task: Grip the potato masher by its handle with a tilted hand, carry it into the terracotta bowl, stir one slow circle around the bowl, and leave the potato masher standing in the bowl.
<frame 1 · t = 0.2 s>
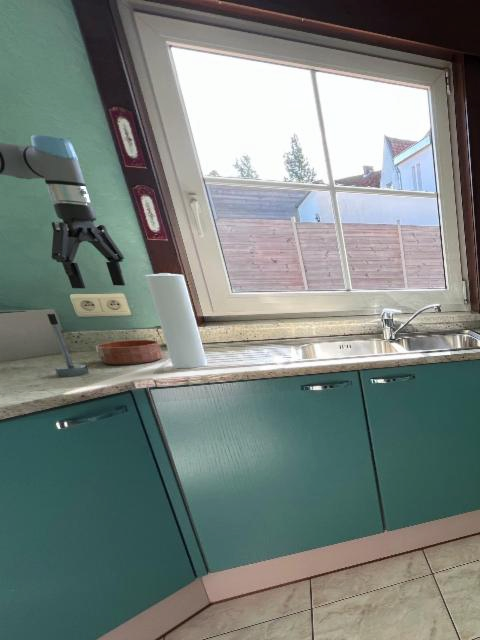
hand: (100, 286, 139), 27 cm above the worktop, tool pointing down, fingers open, 13 cm apart
potato masher: (73, 374, 154), on the worktop
cylinder container: (190, 365, 169), on the worktop
bowl: (133, 360, 173), on the worktop
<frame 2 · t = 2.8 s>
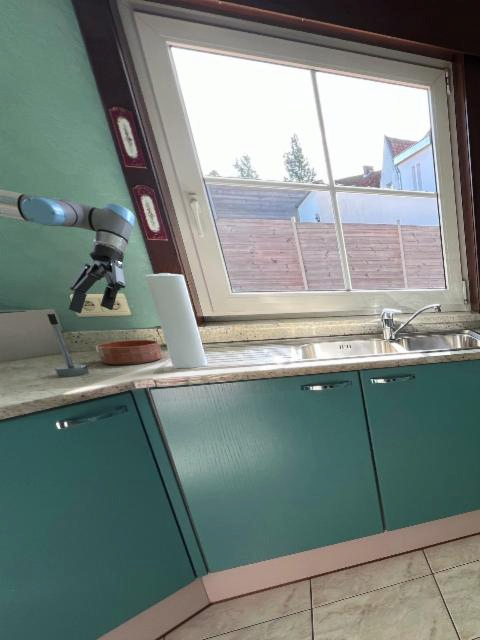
hand: (90, 309, 154), 19 cm above the worktop, tool tilted 35°, fingers open, 13 cm apart
nothing on the worktop moved.
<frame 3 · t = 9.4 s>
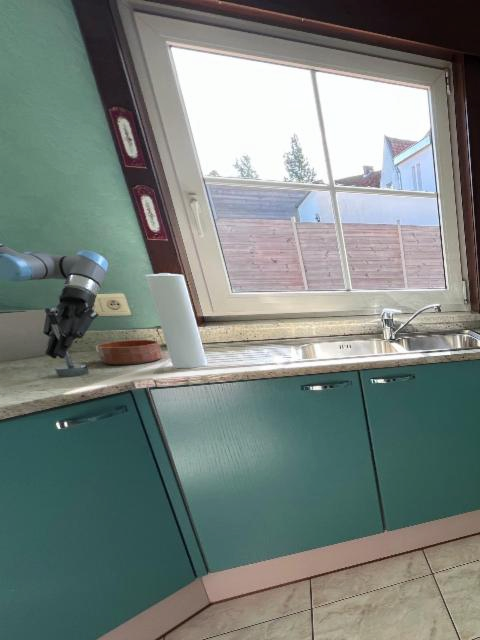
hand: (54, 355, 148), 7 cm above the worktop, tool tilted 45°, fingers closed on potato masher
potato masher: (73, 374, 154), on the worktop, touching gripper
everything else where it was.
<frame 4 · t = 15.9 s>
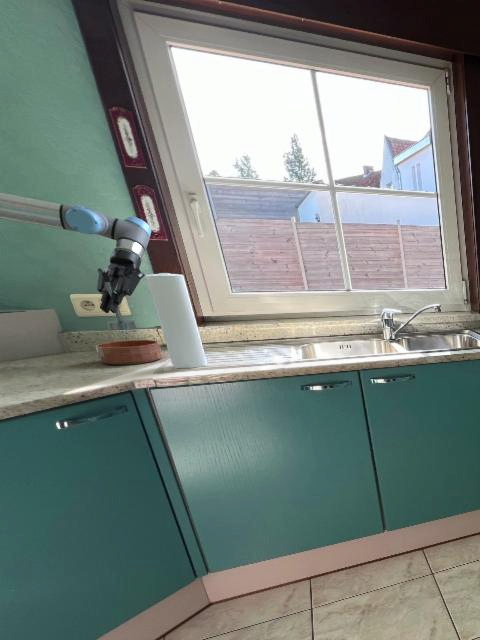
hand: (107, 310, 163), 18 cm above the worktop, tool tilted 45°, fingers closed on potato masher
potato masher: (123, 328, 169), point 11 cm above the worktop, touching gripper
everything else where it was.
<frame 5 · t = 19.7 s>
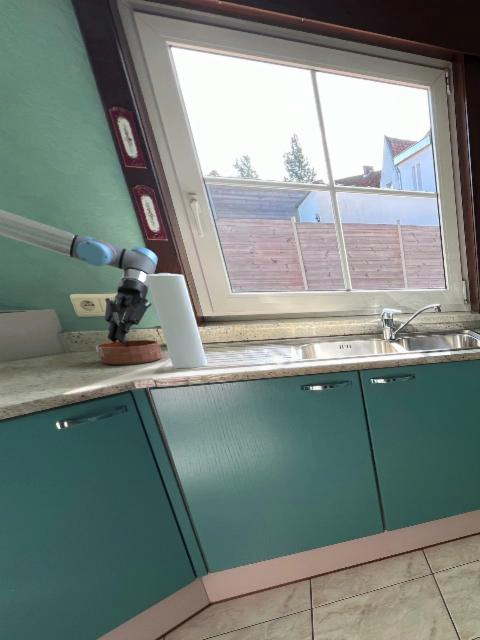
hand: (115, 339, 167), 8 cm above the worktop, tool tilted 45°, fingers closed on potato masher
potato masher: (129, 356, 173), point 1 cm above the worktop, touching gripper
everything else where it was.
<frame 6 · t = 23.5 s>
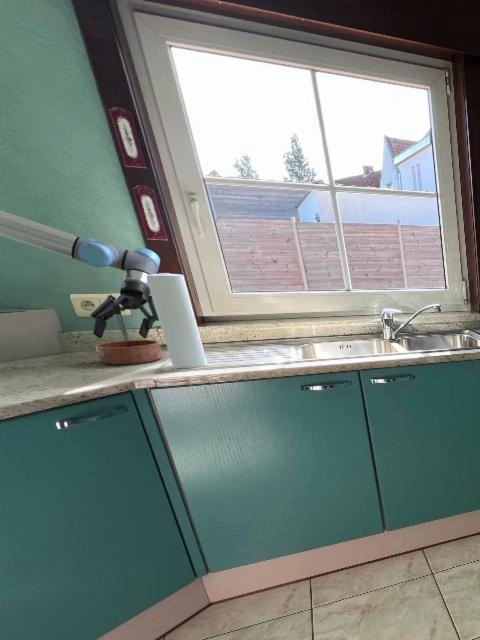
hand: (119, 335, 168), 9 cm above the worktop, tool tilted 45°, fingers open, 13 cm apart
potato masher: (133, 358, 173), point 1 cm above the worktop, touching bowl
everything else where it was.
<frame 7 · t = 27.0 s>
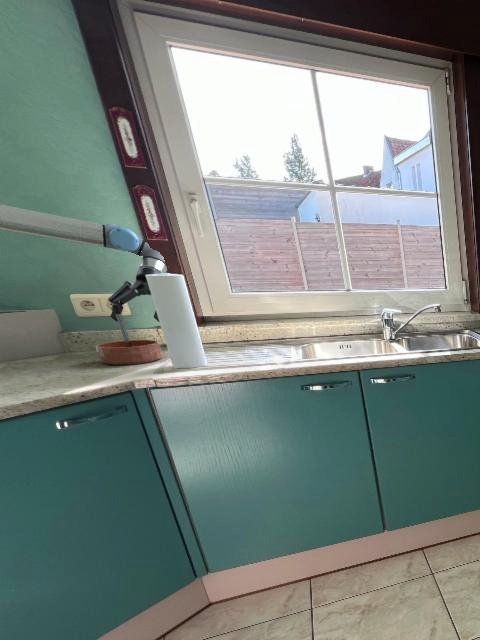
hand: (135, 319, 177), 13 cm above the worktop, tool tilted 45°, fingers open, 13 cm apart
nothing on the worktop moved.
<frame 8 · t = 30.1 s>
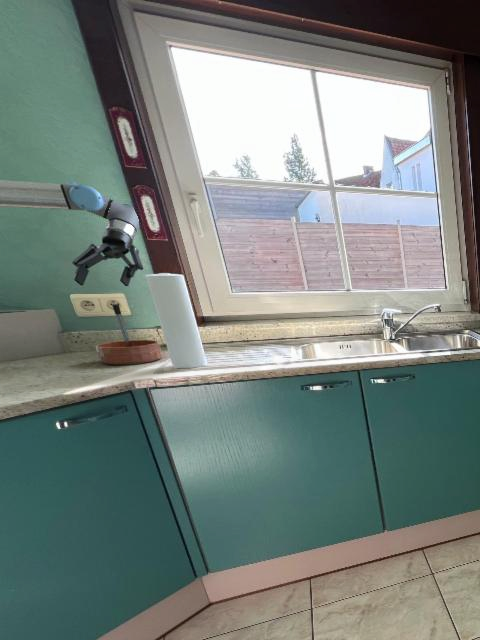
hand: (101, 283, 168), 26 cm above the worktop, tool tilted 45°, fingers open, 13 cm apart
nothing on the worktop moved.
at the end: potato masher inside the target area in the bowl (0.1 cm from its centre), point 0.8 cm above the bowl's base; potato masher tilted 0°; the gripper is holding nothing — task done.
